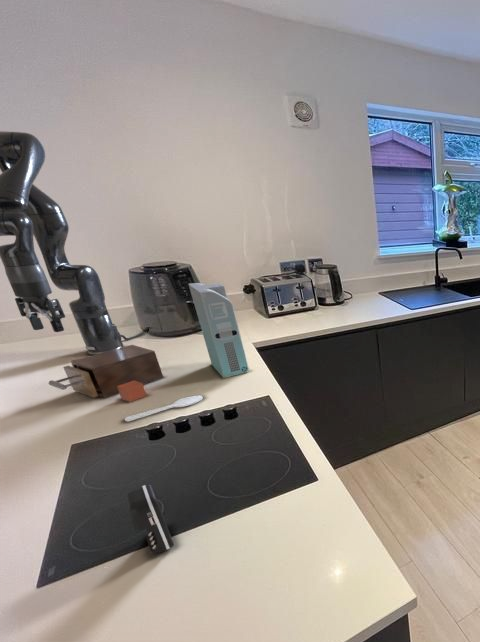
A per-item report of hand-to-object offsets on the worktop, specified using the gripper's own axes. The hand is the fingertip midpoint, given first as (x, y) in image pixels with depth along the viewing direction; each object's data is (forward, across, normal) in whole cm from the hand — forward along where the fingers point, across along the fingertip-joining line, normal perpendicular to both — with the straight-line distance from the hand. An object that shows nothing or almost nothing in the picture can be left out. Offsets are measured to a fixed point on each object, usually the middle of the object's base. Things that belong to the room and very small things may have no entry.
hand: (49, 330), depth 127 cm
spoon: (+18, -49, +8) cm, 53 cm away
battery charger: (+19, -94, +47) cm, 107 cm away
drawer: (+16, -20, +3) cm, 26 cm away
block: (+17, -34, +5) cm, 38 cm away
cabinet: (+17, -21, -2) cm, 27 cm away
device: (+17, -43, -20) cm, 51 cm away
